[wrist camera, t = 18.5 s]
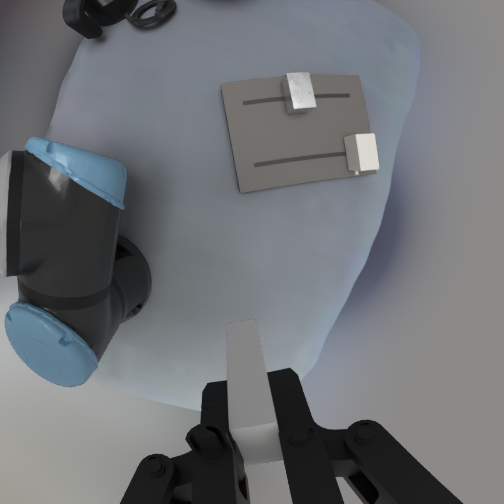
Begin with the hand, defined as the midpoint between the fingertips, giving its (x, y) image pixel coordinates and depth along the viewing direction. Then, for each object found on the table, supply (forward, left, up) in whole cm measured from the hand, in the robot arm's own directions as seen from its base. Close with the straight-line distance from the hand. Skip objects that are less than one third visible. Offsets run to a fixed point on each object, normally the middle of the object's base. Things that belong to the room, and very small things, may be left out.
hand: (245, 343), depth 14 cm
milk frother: (-11, +42, -30) cm, 53 cm away
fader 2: (+20, +9, -26) cm, 34 cm away
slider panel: (+13, +13, -29) cm, 34 cm away
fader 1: (+12, +17, -26) cm, 34 cm away
